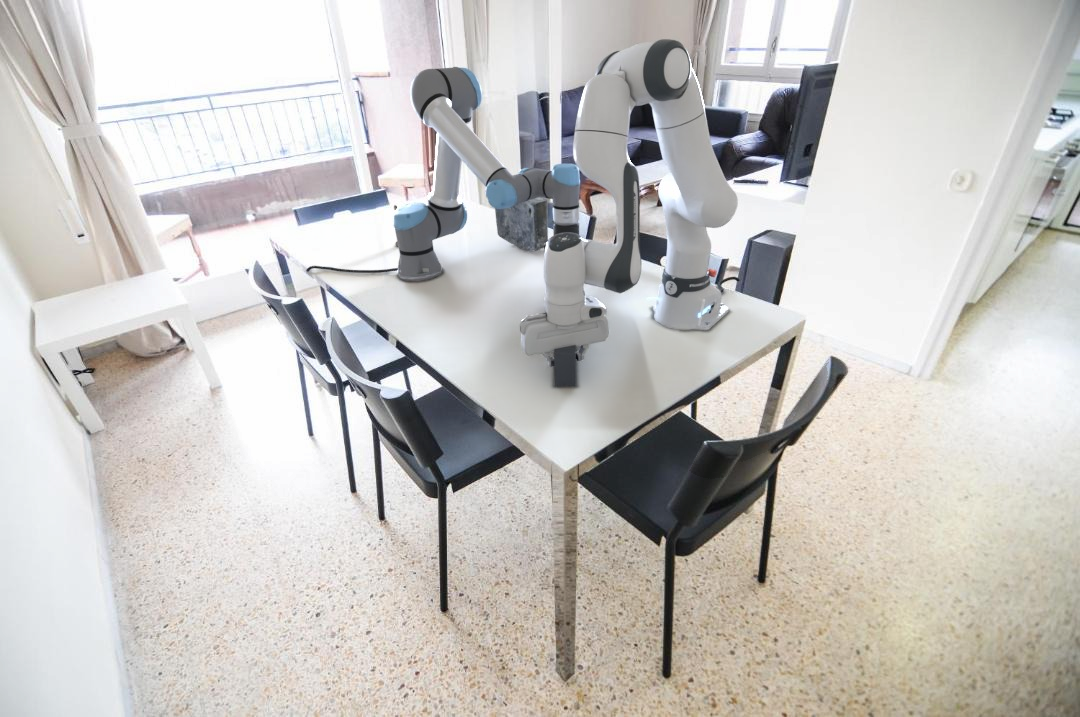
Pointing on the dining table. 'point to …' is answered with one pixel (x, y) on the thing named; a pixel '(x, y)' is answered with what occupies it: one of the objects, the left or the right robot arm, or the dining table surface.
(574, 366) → the beam
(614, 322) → the dining table surface
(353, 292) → the dining table surface
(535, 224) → the concrete block
